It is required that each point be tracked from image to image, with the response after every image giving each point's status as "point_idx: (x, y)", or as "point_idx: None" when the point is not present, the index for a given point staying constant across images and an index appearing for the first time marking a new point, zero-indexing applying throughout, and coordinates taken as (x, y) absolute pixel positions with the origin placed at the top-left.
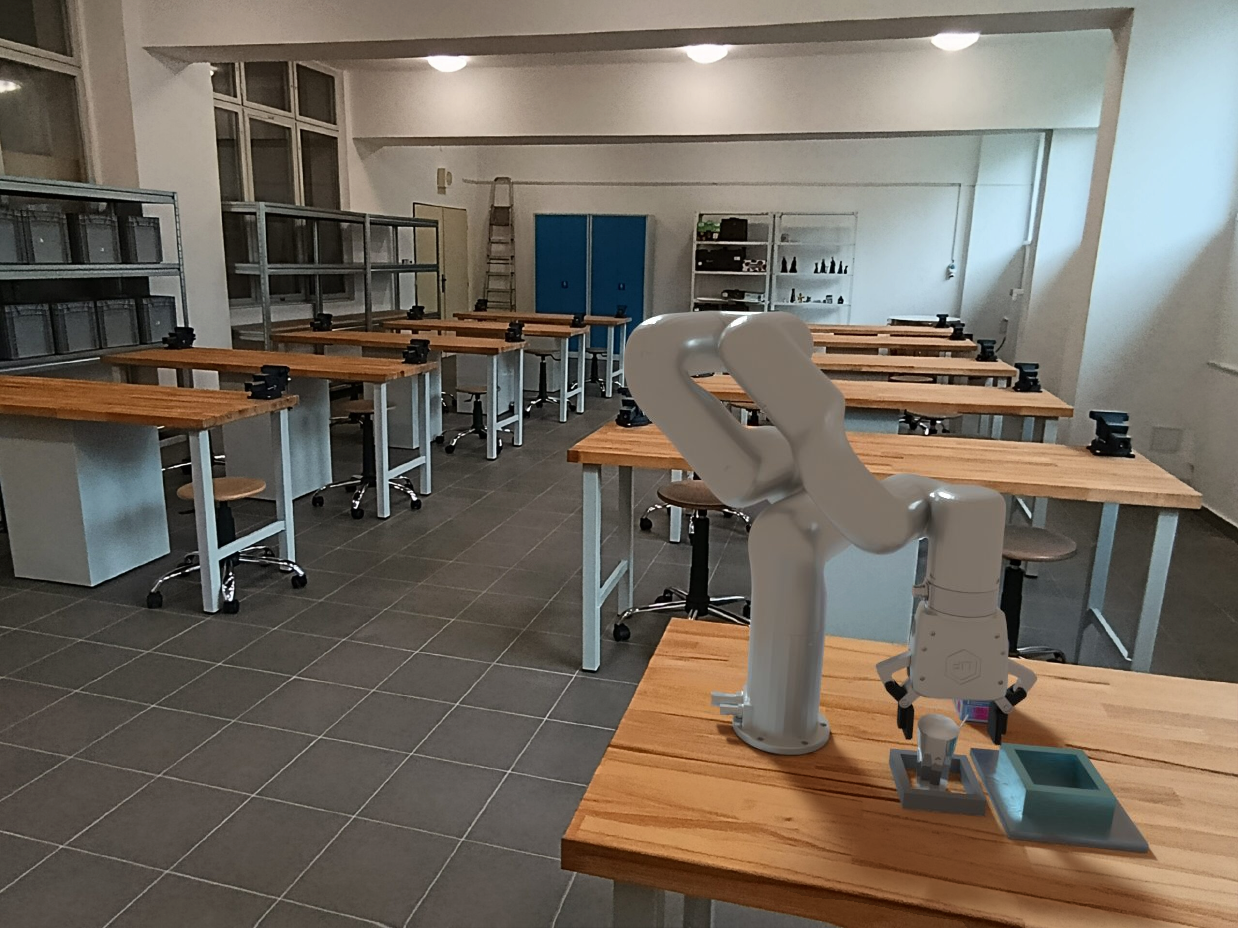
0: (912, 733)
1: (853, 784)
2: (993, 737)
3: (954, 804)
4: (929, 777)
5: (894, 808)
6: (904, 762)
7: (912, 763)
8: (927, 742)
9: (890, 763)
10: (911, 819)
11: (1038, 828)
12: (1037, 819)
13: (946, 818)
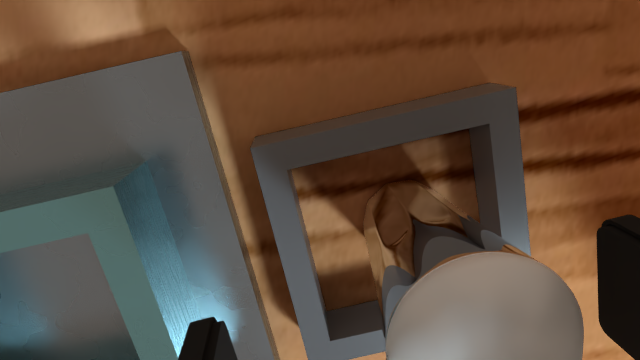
0: (623, 236)
1: (620, 147)
2: (224, 348)
3: (347, 121)
4: (432, 195)
5: (512, 73)
6: None
7: None
8: (514, 247)
9: None
10: (466, 35)
11: (96, 100)
12: (101, 146)
13: (364, 83)
